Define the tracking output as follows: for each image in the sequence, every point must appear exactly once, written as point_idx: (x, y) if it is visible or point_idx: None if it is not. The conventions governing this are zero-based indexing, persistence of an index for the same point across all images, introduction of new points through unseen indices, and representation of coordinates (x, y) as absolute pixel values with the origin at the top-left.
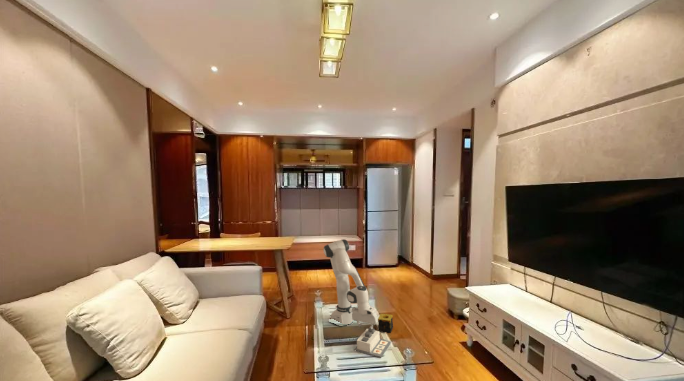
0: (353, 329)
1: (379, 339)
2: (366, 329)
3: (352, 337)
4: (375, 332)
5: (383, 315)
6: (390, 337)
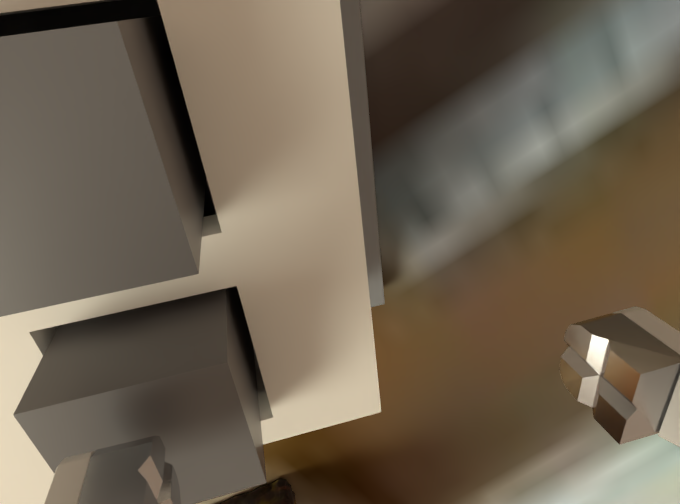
0: None
1: None
2: (374, 380)
3: (579, 141)
4: None
5: None
6: None
